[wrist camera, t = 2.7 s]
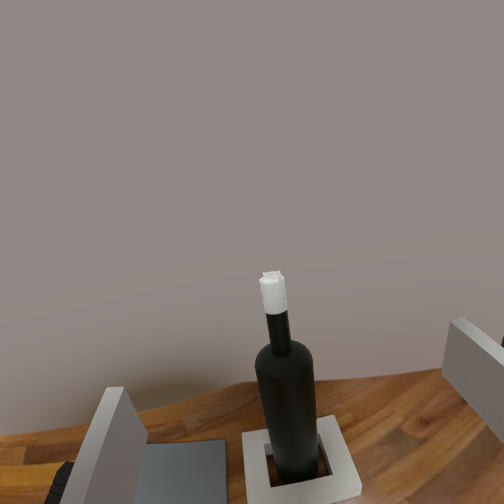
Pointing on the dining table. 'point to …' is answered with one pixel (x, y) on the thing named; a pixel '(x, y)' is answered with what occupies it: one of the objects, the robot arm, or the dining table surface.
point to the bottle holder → (308, 492)
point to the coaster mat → (183, 473)
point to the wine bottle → (287, 389)
